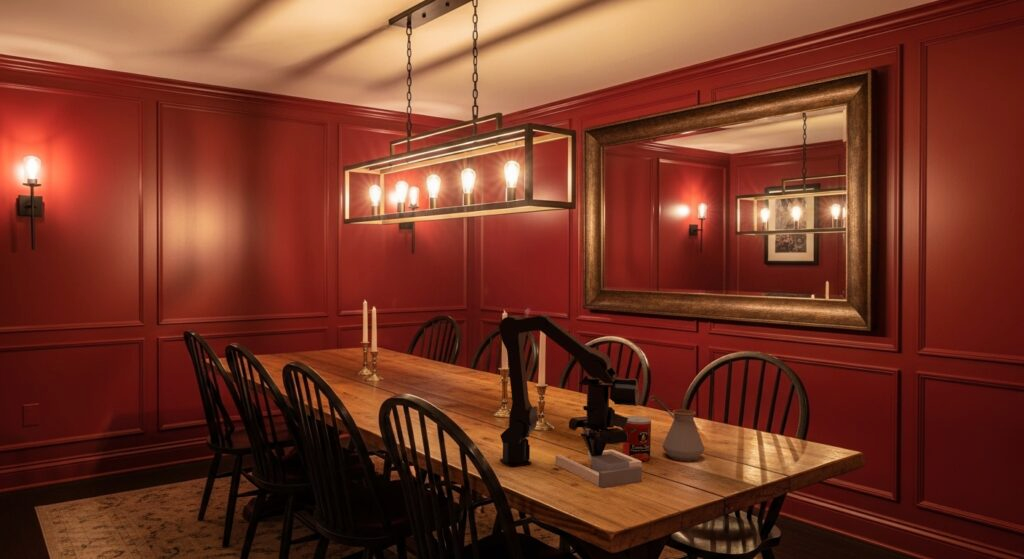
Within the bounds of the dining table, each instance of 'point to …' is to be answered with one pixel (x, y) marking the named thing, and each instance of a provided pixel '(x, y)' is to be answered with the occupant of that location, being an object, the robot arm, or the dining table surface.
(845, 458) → the dining table surface
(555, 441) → the dining table surface
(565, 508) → the dining table surface
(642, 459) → the canned food
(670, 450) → the coffee pot
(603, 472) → the white tray
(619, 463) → the slate block
